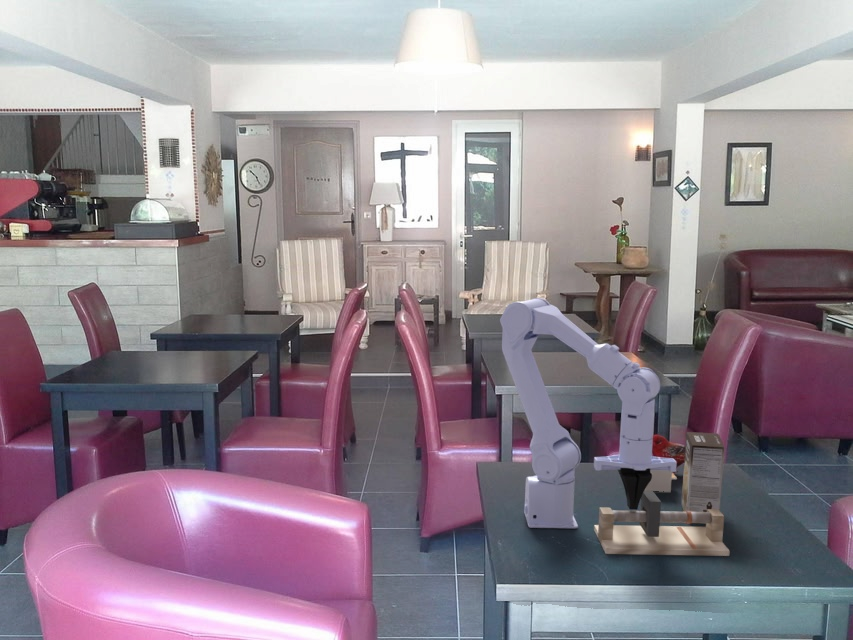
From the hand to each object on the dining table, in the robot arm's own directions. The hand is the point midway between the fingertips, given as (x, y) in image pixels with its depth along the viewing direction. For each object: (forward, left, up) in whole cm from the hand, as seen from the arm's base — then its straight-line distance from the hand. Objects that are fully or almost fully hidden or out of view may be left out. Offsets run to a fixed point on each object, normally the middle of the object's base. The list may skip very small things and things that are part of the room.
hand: (632, 507), depth 139 cm
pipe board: (+5, 0, -7) cm, 9 cm away
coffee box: (+17, +13, -7) cm, 23 cm away
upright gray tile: (+3, 0, -4) cm, 5 cm away
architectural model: (+12, +26, -8) cm, 30 cm away
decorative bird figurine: (+20, +37, -7) cm, 43 cm away
